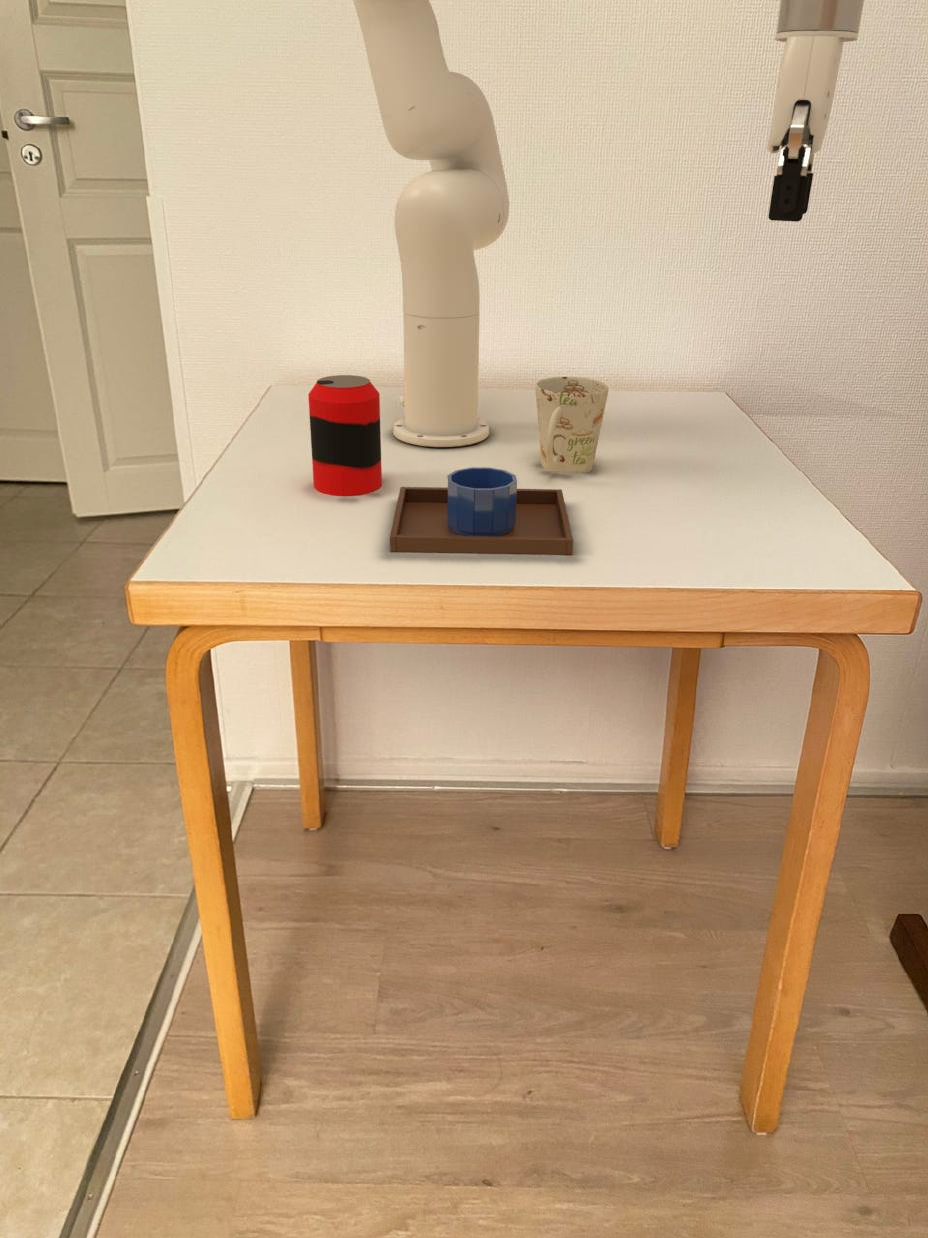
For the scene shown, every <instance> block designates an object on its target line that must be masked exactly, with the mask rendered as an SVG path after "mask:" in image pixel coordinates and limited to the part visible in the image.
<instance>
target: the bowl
mask: <svg viewBox="0 0 928 1238" xmlns="http://www.w3.org/2000/svg"><path fill="white" fill-rule="evenodd" d="M446 477H447V478H446V481H447V482H446V483H447V485H446V488H447V523H448V526H449V528H450V529H451V530H452V531H453V532H455V533H457V534H460V535H463V536H495V537H497V536H501V535H504V534H507V533H509V532H510V531H511V530H512V529H513V527H514V525H515V523H516V498H517V489H518V480H517V479H518V478H517V475H515V474H514V473H512V472H510V471H507V470H505V469H501V468H496V467H489V466H488V467H482V466H480V467H477V466H476V467H475V466H473V467H467V468H466V467H465V468H461V469H456V470H454V471H453V472H450V473H449V474H447V476H446Z"/></svg>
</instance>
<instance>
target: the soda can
mask: <svg viewBox="0 0 928 1238" xmlns="http://www.w3.org/2000/svg"><path fill="white" fill-rule="evenodd" d="M307 395H308V412H309V426H310V427H309V429H310V446H311V447H310V448H311V462H312V463H311V465H312V479H313V480H312V481H313V488H314V489H315V491H317V492H318V493H321V494H323V495H327V496H334V497H359V496H365V495H369V494H372V493H375V492H376V491H379V490H380V489H381V488H382V486H383V477H382V476H383V475H382V473H383V472H382V471H383V469H382V440H381V439H382V438H381V437H382V436H381V402H380V401H381V397H380V392H379V391H378V389H377V388H376V386H374V385H373V383H372V382H371V380H370V378H367V377H365V376H361V375H353V374H339V375H337V374H336V375H329V376H324V377H320V378H318V379H317V380H316V382H315V384H314V385H313V387H312V388H311V390H310V391H309V392H308V394H307Z"/></svg>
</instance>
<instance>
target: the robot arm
mask: <svg viewBox="0 0 928 1238" xmlns="http://www.w3.org/2000/svg"><path fill="white" fill-rule="evenodd" d="M352 1H353V5H354V8H355V12H356V15H357V19H358V22H359V26H360V29H361V33H362V37H363V41H364V46H365V51H366V57H367V61H368V66H369V69H370V75H371V78H372V82H373V87H374V91H375V95H376V100H377V104H378V108H379V112H380V118H381V120H382V125H383V129H384V133H385V135H386V139H387V140H388V143H389V144H390V146H391V148H392V149H393V151H395V152H396V153H397V154H399V155H400V156H401V157H404V158H406V159H409V160H416V161H429V165H430V168H431V171H427V172H424V173H421V174H419V175H418V176H415V177H414V178H413V179H412V180H410V181H408V183H406V185H405V186H404V187H403V188H402V191H401V192H400V194H399V196H398V199H397V201H396V204H395V208H394V209H395V210H394V230H395V231H394V232H395V238H396V245H397V250H398V255H399V261H400V269H401V270H400V271H401V283H402V286H401V287H402V312H403V313H402V314H403V315H402V317H403V318H402V319H403V364H404V365H403V375H404V376H403V377H404V394H403V395H401V396H400V397H399V398H398V404H399V405H400V406H402V407H404V408H403V409H404V417H402V418H401V419H399V420H397V421H396V422H395V423H394V424H393V426H392V427H393V431H392V433H393V436H394V437H395V438H396V439H398V440H399V441H401V442H403V443H407V444H410V445H414V446H420V447H429V448H454V447H464V446H470V445H474V444H477V443H480V442H482V441H484V440H486V439H487V438H488V437H489V435H490V425H489V424H488V422H486V421H484V420H483V419H480V418H479V417H478V415H479V414H478V413H479V412H478V411H479V369H480V368H479V367H480V366H479V365H480V363H479V362H480V319H481V317H480V306H481V305H480V303H481V302H480V301H481V300H480V296H481V295H480V294H481V293H480V281H479V275H478V269H477V264H476V259H475V258H476V257H475V251H478V250H481V249H483V248H487V247H488V246H491V245H492V244H493V243H494V242H496V241H497V240H498V239H499V238H500V237H501V236H502V234H503V233H504V230H505V229H506V226H507V224H508V220H509V214H510V200H509V199H510V198H509V197H510V196H509V191H508V186H507V179H506V175H505V171H504V165H503V161H502V155H501V150H500V145H499V141H498V140H499V139H498V135H497V131H496V127H495V126H496V125H495V121H494V117H493V113H492V109H491V107H490V104H489V101H488V99H487V98H486V95H485V94H484V92H483V90H482V89H481V88H480V87H479V85H478V84H477V83H476V82H475V81H474V80H472V79H471V78H470V77H468V76H466V75H465V74H462V73H459V72H455V71H450V69H449V67H448V65H447V61H446V58H445V54H444V51H443V46H442V42H441V36H440V30H439V29H440V28H439V24H438V20H437V18H436V15H435V12H434V9H433V7H432V4H431V2H430V0H352ZM864 3H865V0H780V3H779V9H778V17H777V24H776V31H775V32H776V33H775V39H774V40H775V42H782V43H784V49H783V53H782V57H781V63H780V68H779V71H778V72H779V73H778V79H777V86H776V92H775V98H774V104H773V110H772V116H771V122H770V128H769V135H768V140H767V146H766V149H767V152H769V153H770V154H777V153H779V151H780V153H779V159H778V164H777V169H776V175H773V182H772V183H773V184H772V188H771V195H770V196H771V197H770V202H769V208H768V209H769V210H768V216H767V217H768V219H769V220H770V221H776V222H777V221H778V222H798V223H799V222H800V221H801V220H802V219H803V216H804V215H805V214H806V213H808V210H809V204H810V203H809V202H810V196H811V190H812V184H813V179H814V178H813V177H814V172H812V171H813V165H814V159H815V154H816V153H818V152H820V151H821V149H822V146H823V143H824V140H825V137H826V132H827V129H828V124H829V120H830V118H831V117H830V116H831V112H832V107H833V102H834V97H835V91H836V86H837V80H838V76H839V70H840V64H841V58H842V53H843V47H844V43H847V42H855V41H858V37H859V31H860V28H861V27H860V25H861V20H862V15H863V10H864V9H863V8H864Z"/></svg>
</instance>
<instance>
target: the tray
mask: <svg viewBox="0 0 928 1238" xmlns="http://www.w3.org/2000/svg"><path fill="white" fill-rule="evenodd" d="M571 528H572V527H571V525H570V520H569V516H568V511H567V507H566V502H565V498H564V493H563V490H562V489H561V488H559V489H557V488H554V489H552V488H517V498H516V523H515V525H514V527H513V529H512V530H511V531H510V532H509V533H507V534H504V535H501V536H497V537H495V536H463V535H460V534H457V533H455V532H453V531H452V530H451V529H450V528H449V526H448V523H447V487H440V486H439V487H436V486H435V487H433V486H428V487H427V486H423V487H422V486H400V487H399V492H398V497H397V502H396V506H395V512H394V515H393V519H392V526H391V529H390V530H391V531H390V535H389V552H390V553H414V554H415V553H418V554H419V553H420V554H423V553H424V554H468V555H469V554H471V555H472V554H473V555H475V554H477V555H478V554H479V555H481V554H482V555H531V556H533V555H536V556H537V555H539V556H540V555H541V556H573V551H574V537H573V534H572V529H571Z"/></svg>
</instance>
